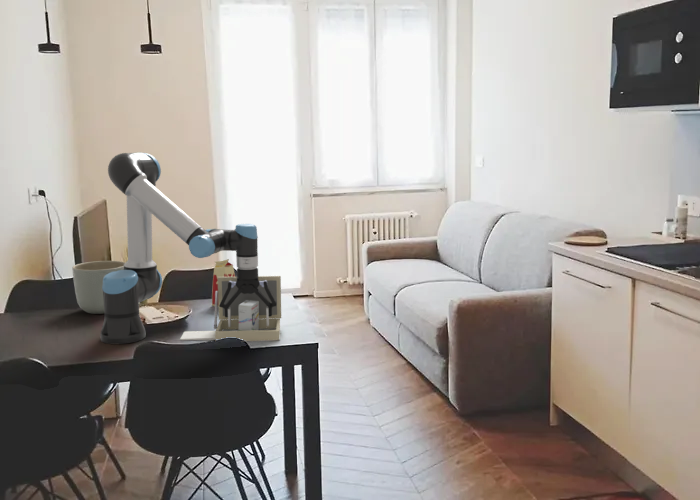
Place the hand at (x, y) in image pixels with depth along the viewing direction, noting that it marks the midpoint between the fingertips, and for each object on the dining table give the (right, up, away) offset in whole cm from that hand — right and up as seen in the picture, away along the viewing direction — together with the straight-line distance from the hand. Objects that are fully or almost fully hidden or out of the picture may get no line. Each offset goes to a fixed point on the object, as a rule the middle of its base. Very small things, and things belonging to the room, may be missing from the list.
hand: (248, 325), depth 241 cm
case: (0, -3, +1) cm, 3 cm away
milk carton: (-17, +4, +44) cm, 47 cm away
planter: (-65, +2, +34) cm, 73 cm away
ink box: (0, -3, +1) cm, 4 cm away
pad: (-17, -4, -2) cm, 17 cm away
